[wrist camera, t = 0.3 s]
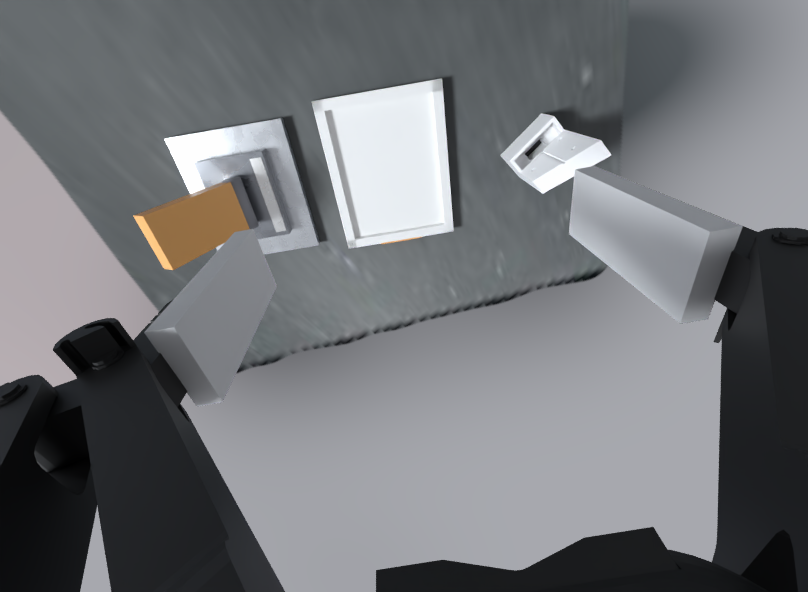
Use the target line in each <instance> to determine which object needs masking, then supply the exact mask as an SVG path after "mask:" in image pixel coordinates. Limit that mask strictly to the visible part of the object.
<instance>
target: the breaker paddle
mask: <svg viewBox="0 0 808 592" xmlns="http://www.w3.org/2000/svg"><path fill="white" fill-rule="evenodd" d="M134 218H135V220H136V221H137V223H138V225H139V227H140V228H141V230H142V232H143V233H144V235H145V237H146V239H147V240H148V242H149V244H150V245H151V247H152V249H153V251H154V252H155V254H156V256H157V257H158V259H159V261H160V263H161V264H162V266H163V268H164V269H169V270H175V269H177V268H178V267H180V266H182V265H184V264H186V263H188V262H190V261H191V260H193V259H195V258H197V257H199V256H201V255H203V254H205V253H206V252H208V251H210V250H212V249H214V248H216V247H218V246H220V245H221V244H223V243H225V242H226V241H227V240H228V239H229V238H230V237H231V236H232V234H233V233H234V232H238V231H243V230H249V229H254V228H257V227H258V226H259V224H258V221H257V219H256V216H255V214H254V211H253V208H252V206H251V203H250V201H249V198H248V196H247V193H246V190H245V188H244V185H243V183H242V180H241V178H240V177H232V178H228V179H225V180H223V181H222V182H221V183H218V184H216V185H213V186H210V187H208V188H205V189H202V190H200V191H197V192H194V193H192V194H189V195H187V196H184V197H181V198H179V199H176V200H173V201H171V202H168V203H165V204H163V205H160V206H157V207H155V208H152V209H149V210H147V211H144V212H141V213H139V214H136V215H134Z"/></svg>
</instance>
